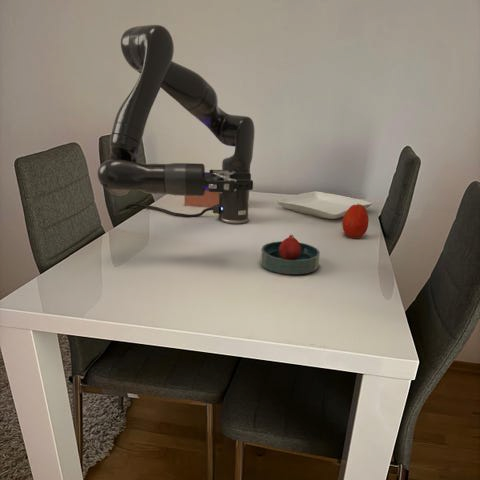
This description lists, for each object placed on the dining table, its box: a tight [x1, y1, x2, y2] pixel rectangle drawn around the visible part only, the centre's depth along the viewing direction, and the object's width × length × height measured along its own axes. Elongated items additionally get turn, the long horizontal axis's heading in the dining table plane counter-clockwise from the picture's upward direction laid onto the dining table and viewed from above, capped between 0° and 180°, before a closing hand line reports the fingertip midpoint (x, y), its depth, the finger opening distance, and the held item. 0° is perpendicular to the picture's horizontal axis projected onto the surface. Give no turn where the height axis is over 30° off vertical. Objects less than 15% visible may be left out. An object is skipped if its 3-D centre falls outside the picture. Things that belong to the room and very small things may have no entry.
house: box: [184, 171, 219, 208], centre depth 174 cm, size 12×20×12 cm, turn 81°
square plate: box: [275, 190, 374, 220], centre depth 173 cm, size 27×27×4 cm
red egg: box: [341, 204, 370, 239], centre depth 144 cm, size 8×8×11 cm
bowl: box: [260, 240, 321, 275], centre depth 120 cm, size 15×15×4 cm
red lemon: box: [279, 234, 301, 260], centre depth 119 cm, size 6×6×8 cm
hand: (251, 181), depth 110 cm, fingers open, 8 cm apart
